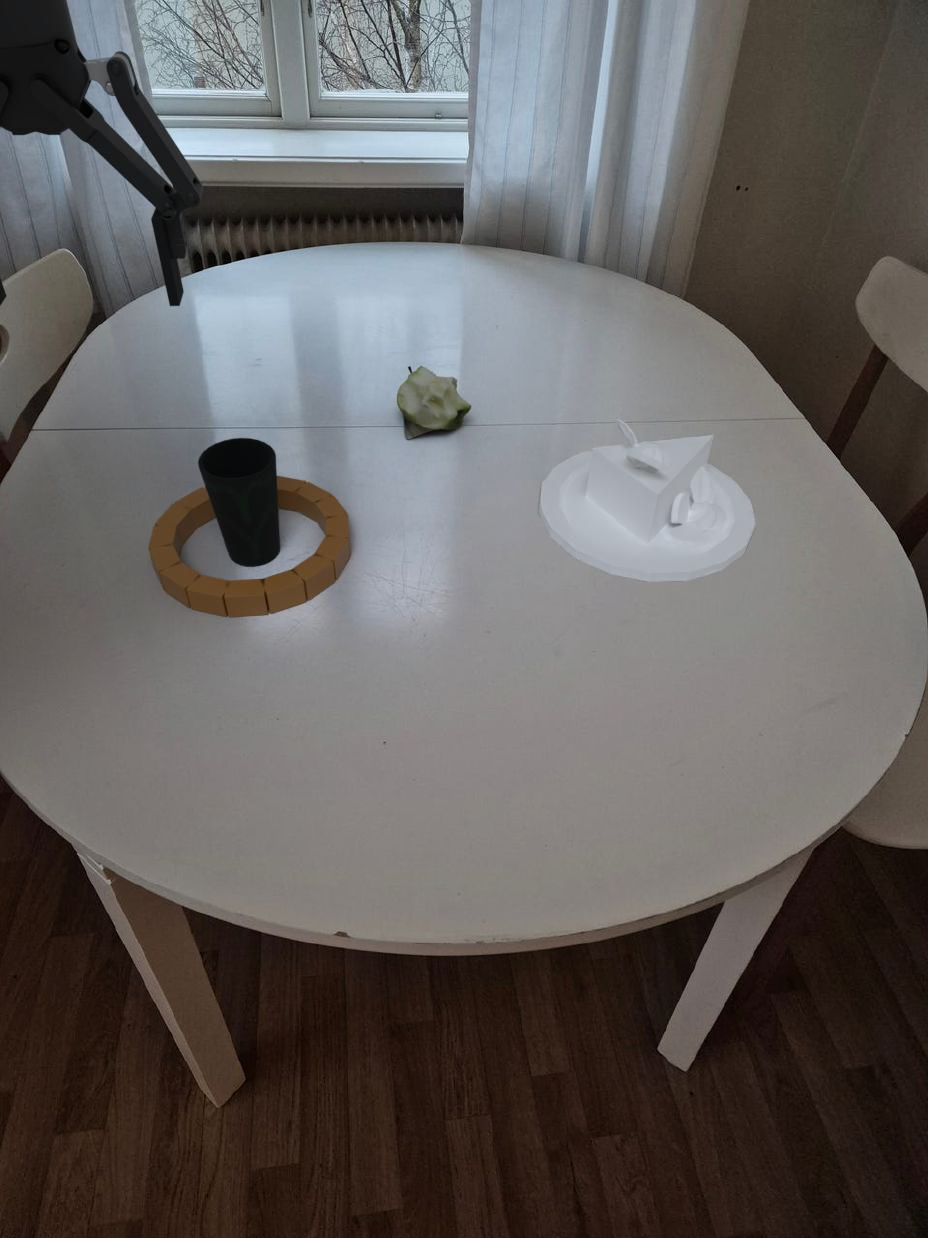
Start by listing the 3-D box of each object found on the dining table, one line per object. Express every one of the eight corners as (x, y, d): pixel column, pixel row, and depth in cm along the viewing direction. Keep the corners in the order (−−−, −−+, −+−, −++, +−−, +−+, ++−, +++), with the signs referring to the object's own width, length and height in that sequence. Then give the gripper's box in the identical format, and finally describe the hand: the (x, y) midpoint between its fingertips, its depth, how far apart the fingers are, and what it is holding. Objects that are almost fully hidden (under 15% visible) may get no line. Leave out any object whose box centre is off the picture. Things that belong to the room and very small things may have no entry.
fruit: (391, 420, 118) (393, 361, 113) (458, 420, 119) (462, 362, 115) (401, 444, 110) (403, 382, 106) (472, 444, 112) (477, 383, 108)
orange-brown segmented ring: (142, 623, 86) (135, 602, 84) (169, 499, 101) (163, 480, 99) (352, 609, 88) (350, 589, 86) (348, 490, 103) (346, 471, 101)
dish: (636, 612, 89) (656, 525, 81) (497, 492, 104) (502, 408, 96) (797, 533, 99) (828, 449, 91) (649, 434, 114) (665, 354, 106)
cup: (304, 543, 96) (291, 451, 88) (259, 582, 91) (241, 488, 83) (250, 521, 99) (233, 429, 90) (204, 557, 94) (181, 464, 86)
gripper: (-257, -32, 49) (-98, 326, 63) (193, -27, 51) (246, 317, 66) (-199, -49, 54) (-65, 285, 69) (206, -43, 57) (252, 278, 71)
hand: (88, 301), depth 67 cm, fingers open, 13 cm apart
